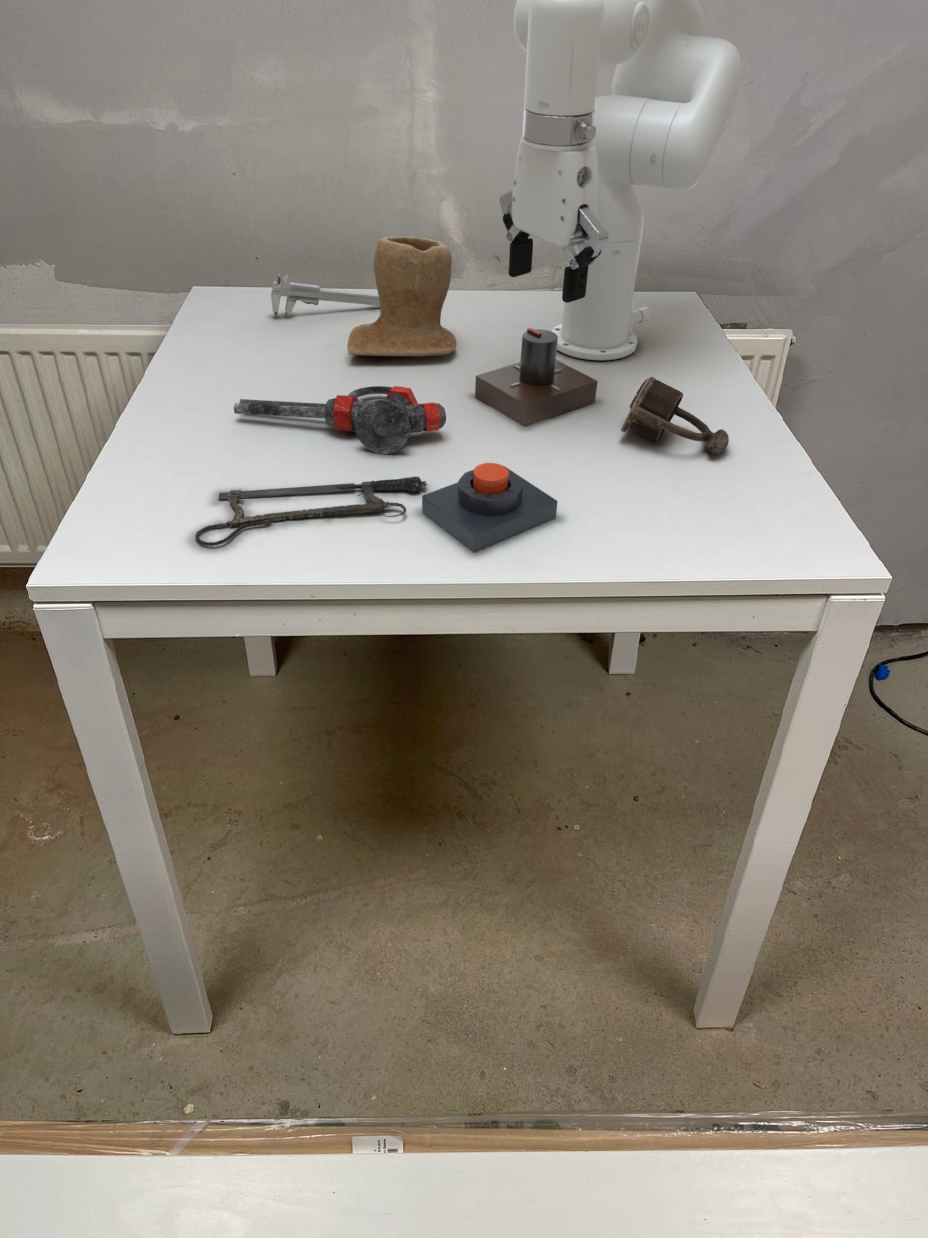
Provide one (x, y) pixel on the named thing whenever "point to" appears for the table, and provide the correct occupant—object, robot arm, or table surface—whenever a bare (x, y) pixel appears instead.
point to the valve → (362, 415)
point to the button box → (488, 511)
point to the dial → (538, 356)
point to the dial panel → (535, 393)
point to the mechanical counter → (667, 416)
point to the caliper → (314, 295)
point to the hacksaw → (368, 487)
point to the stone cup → (408, 300)
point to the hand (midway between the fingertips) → (546, 286)
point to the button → (490, 478)
